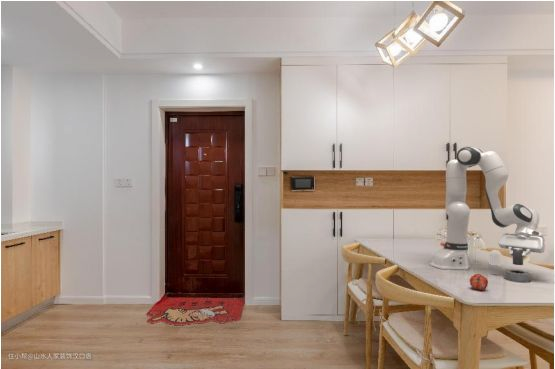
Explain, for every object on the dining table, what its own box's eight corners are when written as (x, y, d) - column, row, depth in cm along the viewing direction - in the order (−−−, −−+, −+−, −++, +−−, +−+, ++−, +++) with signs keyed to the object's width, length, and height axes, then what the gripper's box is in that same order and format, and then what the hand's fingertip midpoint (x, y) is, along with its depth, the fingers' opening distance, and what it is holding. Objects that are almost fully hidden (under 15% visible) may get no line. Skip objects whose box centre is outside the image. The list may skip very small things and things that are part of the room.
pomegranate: (469, 291, 174) (465, 281, 168) (474, 277, 177) (470, 268, 171) (486, 296, 169) (482, 286, 163) (491, 282, 172) (487, 272, 166)
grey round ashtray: (516, 282, 182) (516, 274, 182) (499, 277, 192) (499, 269, 192) (535, 282, 183) (535, 274, 183) (518, 276, 194) (518, 269, 194)
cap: (517, 265, 185) (517, 249, 185) (510, 263, 190) (510, 247, 190) (525, 265, 186) (525, 249, 186) (518, 263, 190) (518, 247, 190)
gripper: (501, 229, 200) (493, 249, 194) (545, 233, 184) (539, 255, 178) (504, 236, 203) (497, 256, 197) (548, 241, 187) (542, 262, 181)
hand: (517, 255), depth 187 cm, fingers closed on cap, 4 cm apart
